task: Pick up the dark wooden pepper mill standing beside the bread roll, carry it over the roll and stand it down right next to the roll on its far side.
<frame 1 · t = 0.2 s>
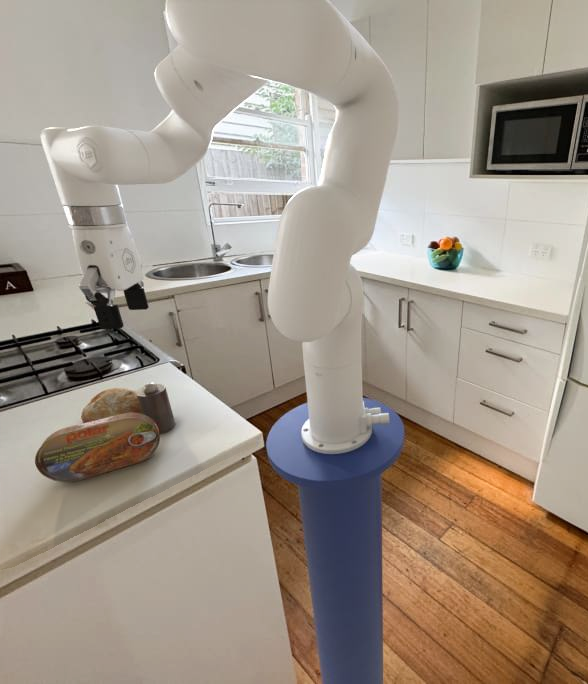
hand: (126, 318, 67), 20 cm above the worktop, tool pointing down, fingers open, 9 cm apart
tin: (110, 467, 61), on the worktop
pepper mill: (161, 427, 71), on the worktop
bread roll: (117, 420, 72), on the worktop
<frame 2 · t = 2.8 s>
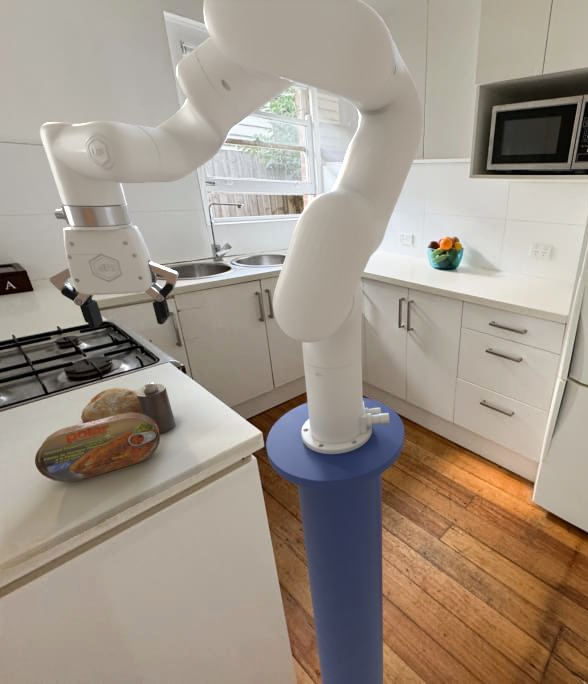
hand: (130, 323, 64), 20 cm above the worktop, tool pointing down, fingers open, 9 cm apart
nothing on the worktop moved.
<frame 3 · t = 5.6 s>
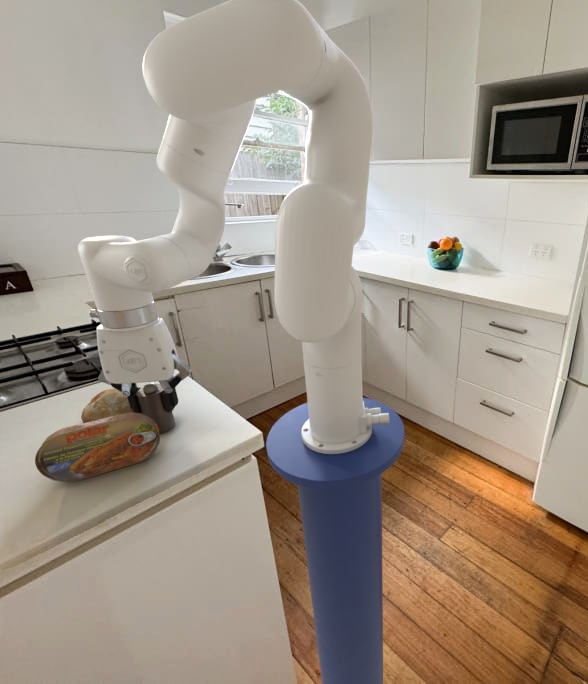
hand: (156, 408, 69), 4 cm above the worktop, tool pointing down, fingers closed on pepper mill, 4 cm apart
pepper mill: (161, 427, 71), on the worktop, touching gripper
everything else where it was.
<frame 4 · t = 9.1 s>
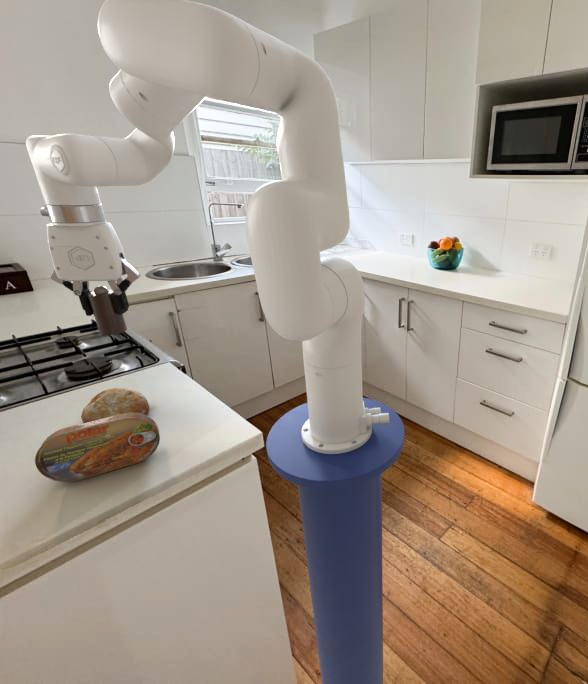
hand: (107, 312, 74), 18 cm above the worktop, tool pointing down, fingers closed on pepper mill, 4 cm apart
pepper mill: (113, 331, 76), point 14 cm above the worktop, touching gripper
everything else where it was.
when the fingers open (4 cm above the worktop, at t = 12.5 s): pepper mill stays where it is, on the worktop.
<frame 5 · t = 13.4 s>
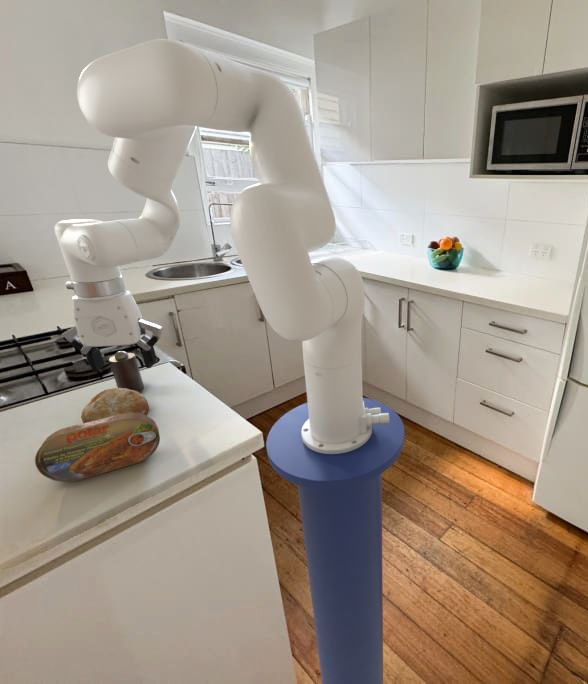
hand: (125, 366, 79), 6 cm above the worktop, tool pointing down, fingers open, 9 cm apart
pepper mill: (132, 390, 82), on the worktop
everything else where it was.
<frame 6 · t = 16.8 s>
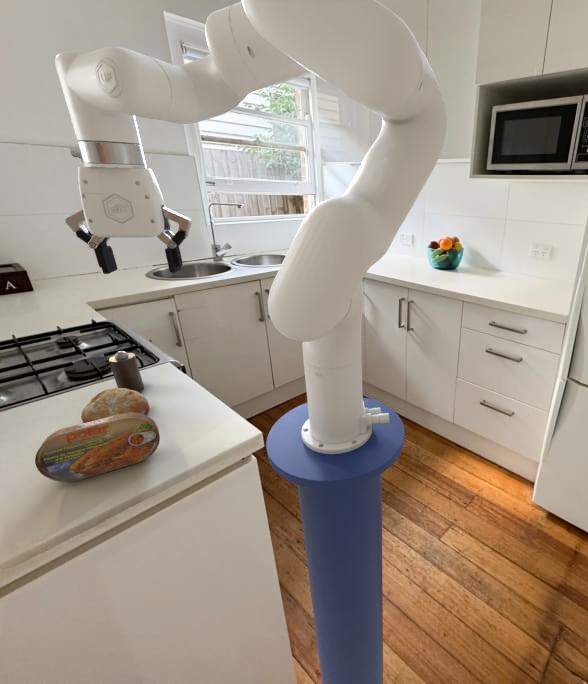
hand: (143, 271, 63), 28 cm above the worktop, tool pointing down, fingers open, 9 cm apart
nothing on the worktop moved.
at the end: pepper mill inside the target area on the worktop beside the bread roll (0.0 cm from its centre), on the worktop; pepper mill tilted 0°; the gripper is holding nothing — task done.
